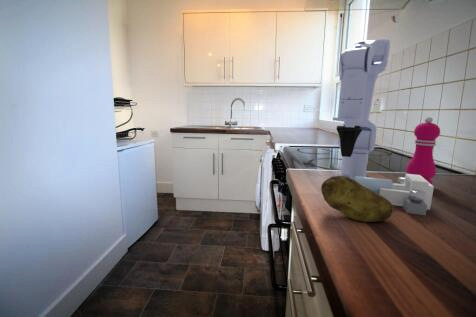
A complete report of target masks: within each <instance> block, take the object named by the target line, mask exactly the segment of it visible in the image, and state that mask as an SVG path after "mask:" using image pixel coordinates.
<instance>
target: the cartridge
mask: <svg viewBox="0 0 476 317" xmlns="http://www.w3.org/2000/svg"><path fill="white" fill-rule="evenodd" d="M340 173H341V172H338V173H337V175H336V176H343V177H348V178H349V174H340ZM354 180H355V181H356V182H358V183H359V184H361V185H362V186H364V187H366V188H368V189H369V190H371V191H373V192H375V193H377V194H379V192H380V188H386V189H392V183H393V179H387V178H378V177H377V178H376V177H369V176H368V177H367V176H366V177H361V176H355V179H354Z"/></svg>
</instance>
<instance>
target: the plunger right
mask: <svg viewBox="0 0 476 317" xmlns="http://www.w3.org/2000/svg"><path fill="white" fill-rule="evenodd" d="M424 197H425V192H423V191H419V190H409V196H408V199H409V200H412V201H413V202H414V203H418V202H424Z"/></svg>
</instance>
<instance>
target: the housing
mask: <svg viewBox="0 0 476 317" xmlns="http://www.w3.org/2000/svg"><path fill="white" fill-rule="evenodd" d="M404 177H405V181H404V184H397V183H396V182H395V183H393V182H392V189H386V188H380V192H379V195H381V196H383V197H384V198H386V199H387V200H388V201H389V202H390V203H391V204H392V206H397V207H402V208H403V209H404V211H405V213H406V214H413V215H418V216H426V215H427V211H431V205H432V199H433V196H434V195H433V193H434V189H435V187H434V185H433V184H432V185H431V184H430V183H429V182H428V181H427V180H425V179H424V178H423V177H422V176H420V175H414V174H407V173H405V175H404ZM409 190H419V191H423V192H425V197H424V202H418V203H414V202H413V201H412V200H409V199H408V196H409Z"/></svg>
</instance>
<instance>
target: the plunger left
mask: <svg viewBox="0 0 476 317" xmlns="http://www.w3.org/2000/svg"><path fill="white" fill-rule="evenodd" d="M404 181H405V176H399V177H398V178H397V183H396V184H404Z"/></svg>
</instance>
